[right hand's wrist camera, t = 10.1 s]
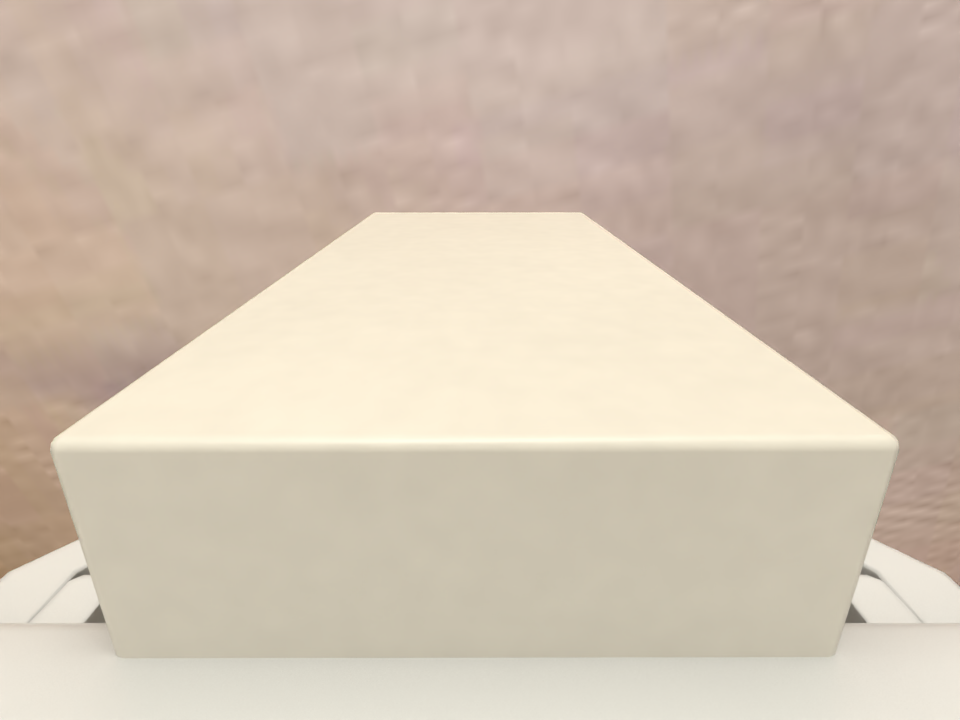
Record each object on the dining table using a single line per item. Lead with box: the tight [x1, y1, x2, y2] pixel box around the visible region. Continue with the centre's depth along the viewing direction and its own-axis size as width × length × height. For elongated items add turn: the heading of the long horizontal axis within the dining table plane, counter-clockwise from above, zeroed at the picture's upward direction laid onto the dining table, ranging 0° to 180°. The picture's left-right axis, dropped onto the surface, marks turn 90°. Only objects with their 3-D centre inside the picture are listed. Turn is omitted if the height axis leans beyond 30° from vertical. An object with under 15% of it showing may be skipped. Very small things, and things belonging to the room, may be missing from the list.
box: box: [50, 212, 899, 658], centre depth 14 cm, size 21×6×13 cm, turn 0°
